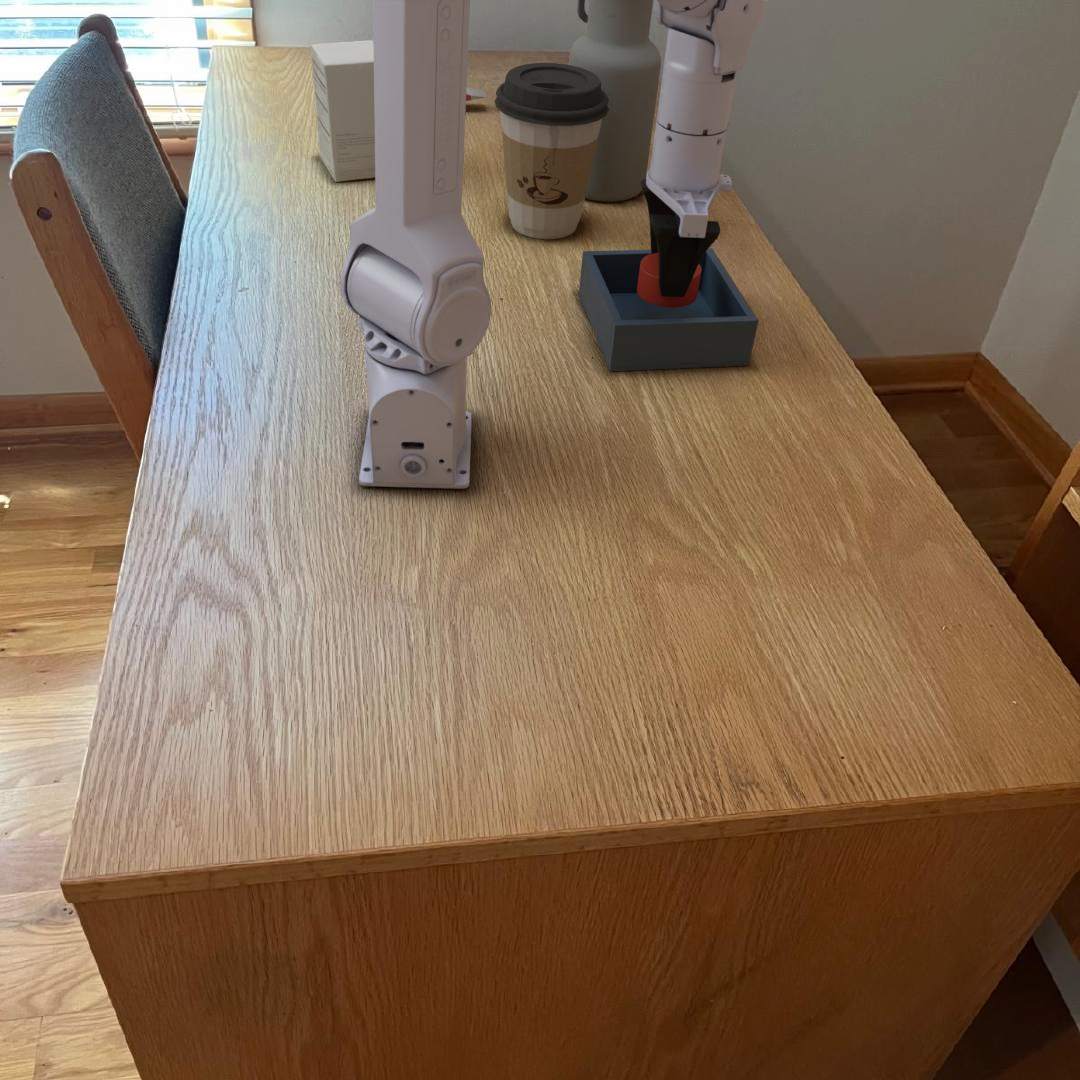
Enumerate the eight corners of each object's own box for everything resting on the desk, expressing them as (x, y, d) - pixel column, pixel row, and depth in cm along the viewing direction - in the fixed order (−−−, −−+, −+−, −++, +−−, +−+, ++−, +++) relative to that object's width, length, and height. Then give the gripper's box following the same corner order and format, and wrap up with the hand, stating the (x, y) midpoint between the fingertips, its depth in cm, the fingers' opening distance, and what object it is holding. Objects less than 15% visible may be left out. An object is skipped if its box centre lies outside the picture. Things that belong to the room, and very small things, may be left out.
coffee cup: (486, 244, 105) (491, 92, 95) (494, 198, 113) (498, 55, 103) (597, 252, 105) (613, 101, 95) (596, 206, 113) (610, 63, 104)
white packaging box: (380, 152, 121) (375, 38, 113) (397, 177, 116) (393, 59, 108) (318, 158, 119) (308, 41, 111) (333, 183, 114) (323, 63, 105)
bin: (748, 365, 90) (759, 320, 87) (609, 371, 88) (615, 325, 85) (704, 291, 100) (712, 247, 97) (578, 294, 98) (582, 250, 95)
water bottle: (548, 170, 120) (567, -108, 102) (627, 166, 123) (659, -106, 104) (573, 206, 113) (598, -86, 94) (656, 201, 115) (696, -84, 97)
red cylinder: (701, 309, 90) (706, 282, 88) (640, 306, 90) (643, 279, 88) (692, 279, 94) (696, 253, 92) (633, 277, 94) (637, 250, 92)
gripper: (758, 160, 77) (726, 321, 86) (726, 94, 87) (700, 243, 96) (665, 156, 76) (642, 318, 85) (644, 90, 87) (626, 240, 96)
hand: (667, 278), depth 91 cm, fingers closed on red cylinder, 5 cm apart
